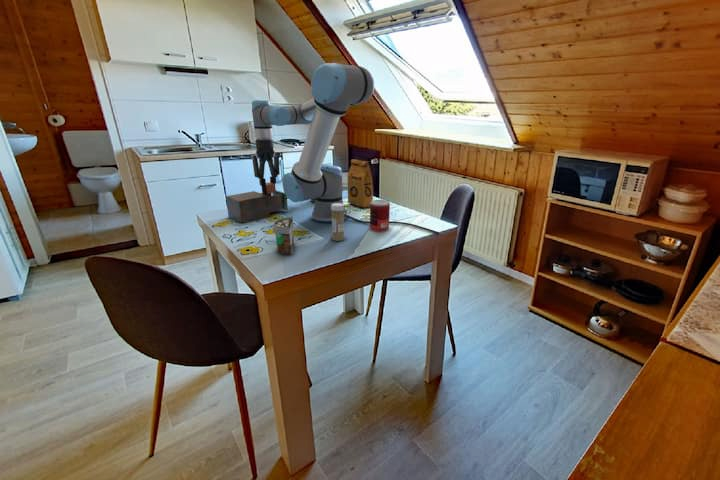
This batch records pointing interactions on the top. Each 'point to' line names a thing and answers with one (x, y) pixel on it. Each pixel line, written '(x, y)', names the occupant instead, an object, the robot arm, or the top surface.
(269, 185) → the block
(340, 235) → the sprinkles bottle
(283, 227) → the food container
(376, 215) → the canned food
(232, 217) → the cabinet
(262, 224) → the top surface
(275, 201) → the drawer
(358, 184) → the coffee package
